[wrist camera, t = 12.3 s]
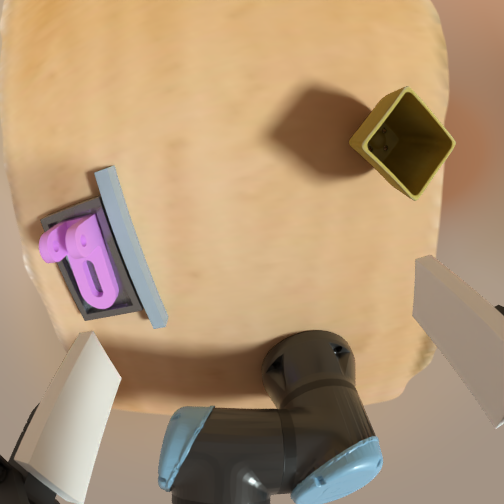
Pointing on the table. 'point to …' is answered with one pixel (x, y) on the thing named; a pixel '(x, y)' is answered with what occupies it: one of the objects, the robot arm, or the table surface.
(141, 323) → the table surface
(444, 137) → the flower pot
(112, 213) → the door edge
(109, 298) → the bracket
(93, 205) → the shallow rectangular tray
